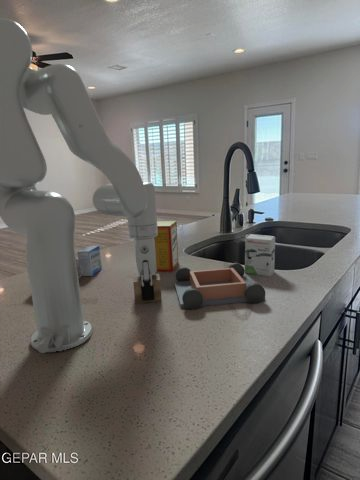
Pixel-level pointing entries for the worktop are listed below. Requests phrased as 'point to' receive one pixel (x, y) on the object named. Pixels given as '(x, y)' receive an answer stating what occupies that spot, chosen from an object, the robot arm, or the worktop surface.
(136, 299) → the tan block
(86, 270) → the medicine box
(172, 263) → the baking soda box
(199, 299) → the chassis
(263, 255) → the ink box
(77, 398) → the worktop surface
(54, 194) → the robot arm
